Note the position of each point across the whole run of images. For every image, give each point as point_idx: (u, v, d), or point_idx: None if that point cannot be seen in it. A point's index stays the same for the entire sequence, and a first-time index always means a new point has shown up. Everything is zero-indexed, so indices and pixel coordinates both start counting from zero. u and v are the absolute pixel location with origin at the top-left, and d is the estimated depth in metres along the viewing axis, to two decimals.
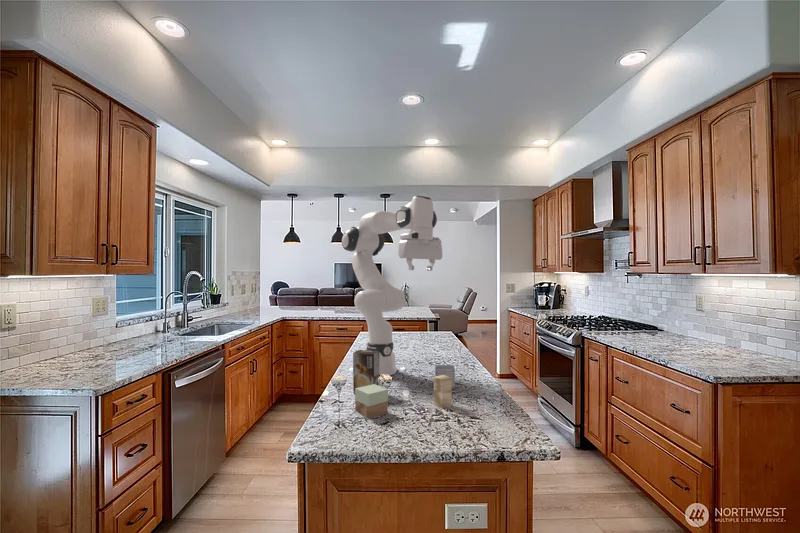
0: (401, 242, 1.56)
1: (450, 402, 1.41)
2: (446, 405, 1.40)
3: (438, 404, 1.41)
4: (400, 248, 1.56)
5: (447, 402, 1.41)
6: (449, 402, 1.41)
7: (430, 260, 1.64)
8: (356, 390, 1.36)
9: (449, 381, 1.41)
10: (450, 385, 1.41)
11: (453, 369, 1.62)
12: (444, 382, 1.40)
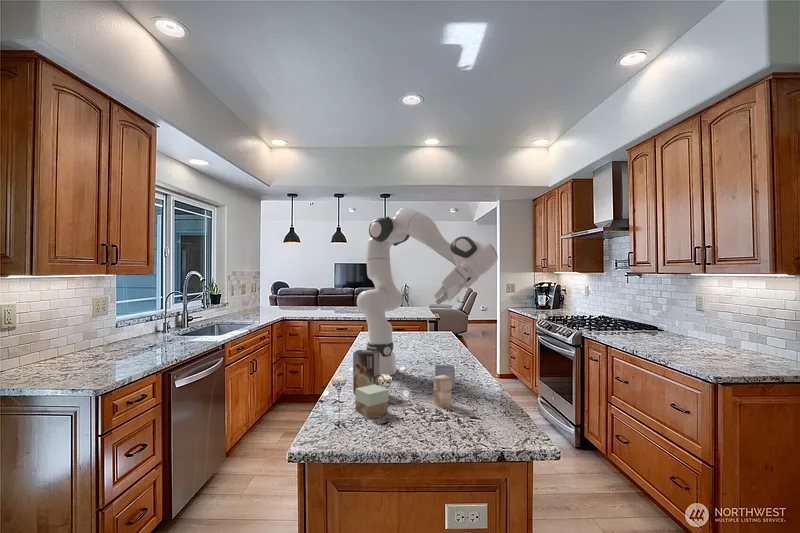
0: (455, 273, 1.44)
1: (450, 402, 1.41)
2: (446, 405, 1.40)
3: (438, 404, 1.41)
4: (450, 277, 1.43)
5: (447, 402, 1.41)
6: (449, 402, 1.41)
7: (444, 296, 1.57)
8: (356, 390, 1.36)
9: (449, 381, 1.41)
10: (450, 385, 1.41)
11: (453, 369, 1.62)
12: (444, 382, 1.40)
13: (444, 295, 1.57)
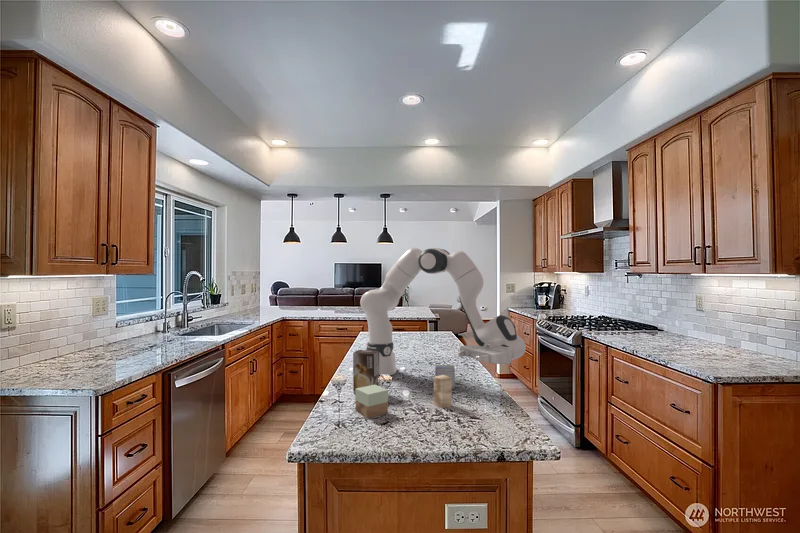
0: (507, 354, 1.48)
1: (450, 402, 1.41)
2: (446, 405, 1.40)
3: (438, 404, 1.41)
4: (503, 356, 1.46)
5: (447, 402, 1.41)
6: (449, 402, 1.41)
7: (466, 352, 1.56)
8: (356, 390, 1.36)
9: (449, 381, 1.41)
10: (450, 385, 1.41)
11: (453, 369, 1.62)
12: (444, 382, 1.40)
13: (467, 351, 1.56)
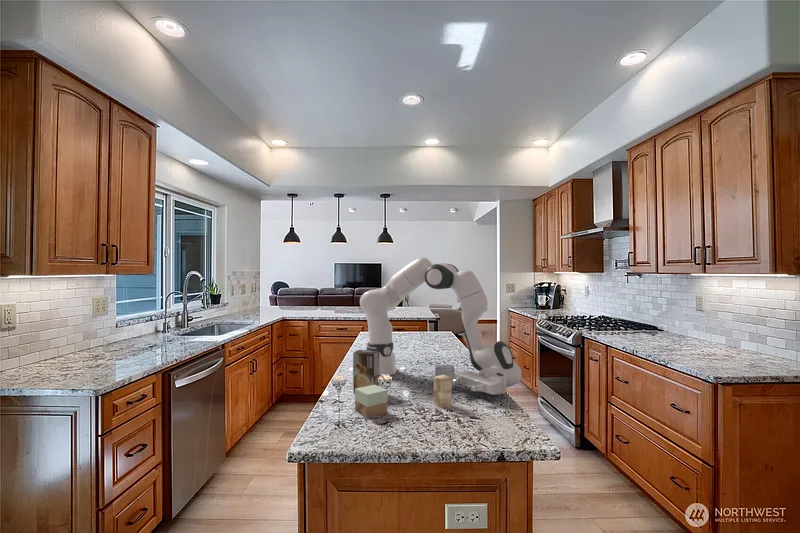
0: (502, 384, 1.46)
1: (450, 402, 1.41)
2: (446, 405, 1.40)
3: (438, 404, 1.41)
4: (498, 386, 1.45)
5: (447, 402, 1.41)
6: (449, 402, 1.41)
7: (461, 379, 1.55)
8: (356, 390, 1.36)
9: (449, 381, 1.41)
10: (450, 385, 1.41)
11: (453, 369, 1.62)
12: (444, 382, 1.40)
13: (461, 379, 1.55)
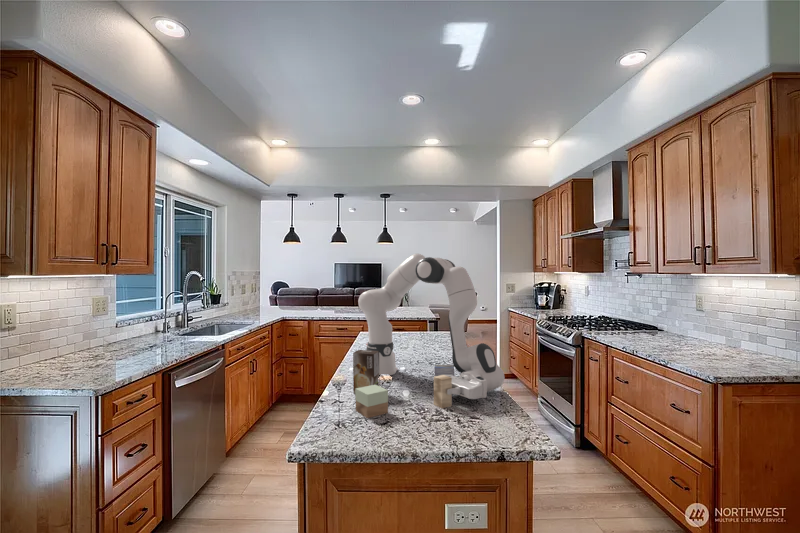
0: (482, 388, 1.40)
1: (450, 402, 1.41)
2: (446, 405, 1.40)
3: (438, 404, 1.41)
4: (478, 390, 1.39)
5: (447, 402, 1.41)
6: (449, 402, 1.41)
7: None
8: (356, 390, 1.36)
9: (449, 381, 1.41)
10: (450, 385, 1.41)
11: (452, 369, 1.61)
12: (444, 382, 1.40)
13: None
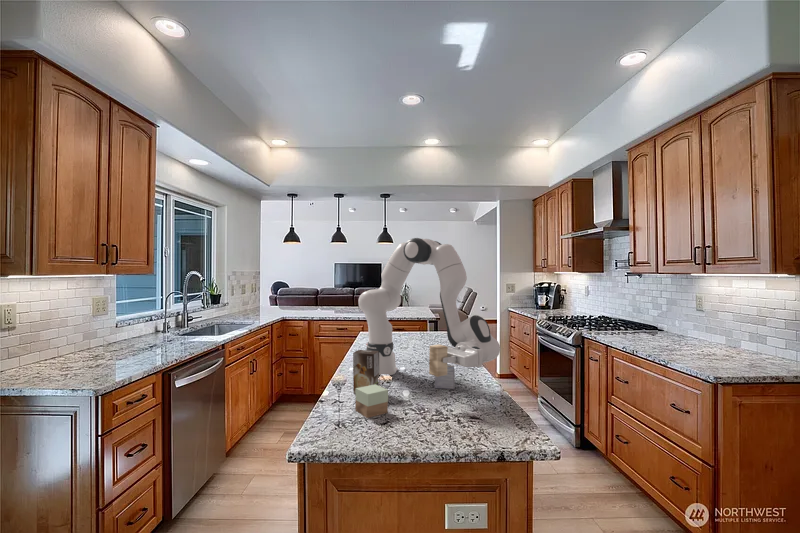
0: (477, 357, 1.40)
1: (446, 371, 1.41)
2: (442, 373, 1.40)
3: (434, 373, 1.40)
4: (473, 359, 1.38)
5: (442, 370, 1.40)
6: (445, 371, 1.41)
7: None
8: (356, 390, 1.36)
9: (445, 350, 1.41)
10: (446, 354, 1.41)
11: (453, 369, 1.61)
12: (440, 350, 1.40)
13: None
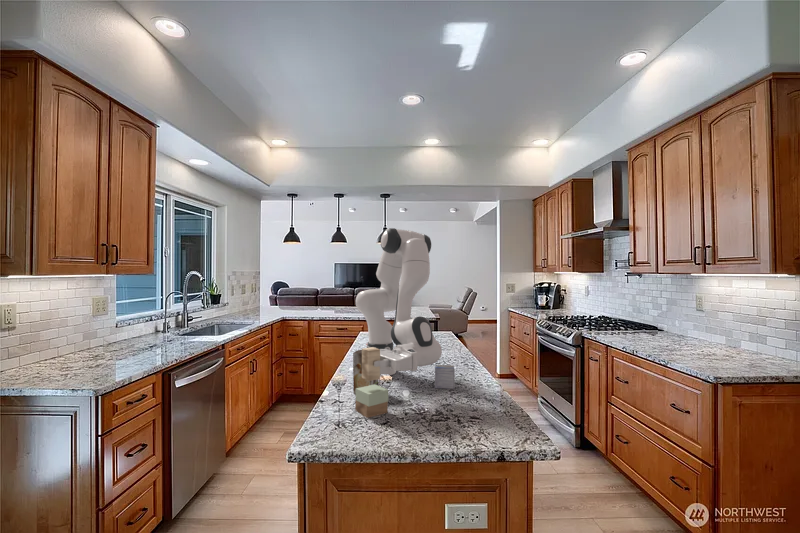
0: (411, 360, 1.34)
1: (378, 375, 1.35)
2: (373, 378, 1.34)
3: (365, 377, 1.34)
4: (406, 362, 1.32)
5: (374, 374, 1.34)
6: (377, 375, 1.35)
7: None
8: (356, 390, 1.36)
9: (377, 353, 1.35)
10: (378, 357, 1.35)
11: (453, 369, 1.61)
12: (371, 353, 1.34)
13: None
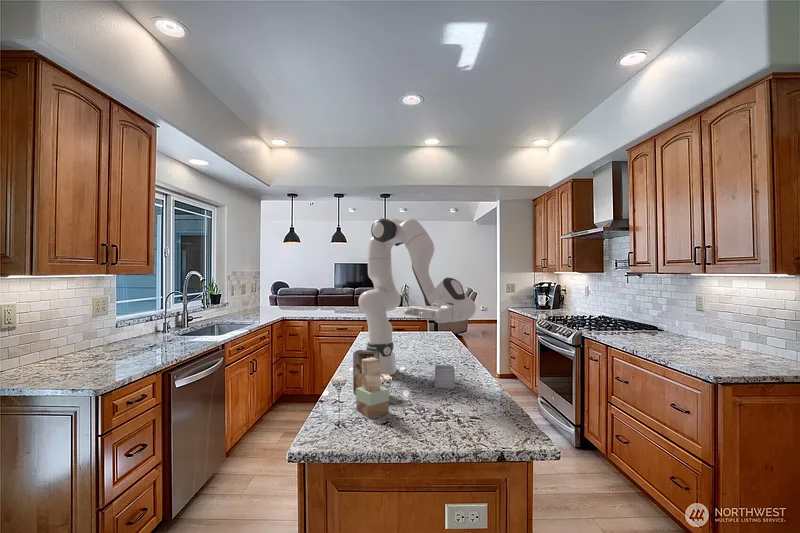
0: (451, 311, 1.46)
1: (378, 385, 1.35)
2: (374, 388, 1.34)
3: (366, 387, 1.34)
4: (447, 312, 1.44)
5: (374, 385, 1.34)
6: (377, 385, 1.35)
7: (413, 311, 1.54)
8: (357, 390, 1.36)
9: (377, 363, 1.35)
10: (378, 367, 1.35)
11: (453, 369, 1.61)
12: (371, 364, 1.33)
13: (413, 310, 1.54)
